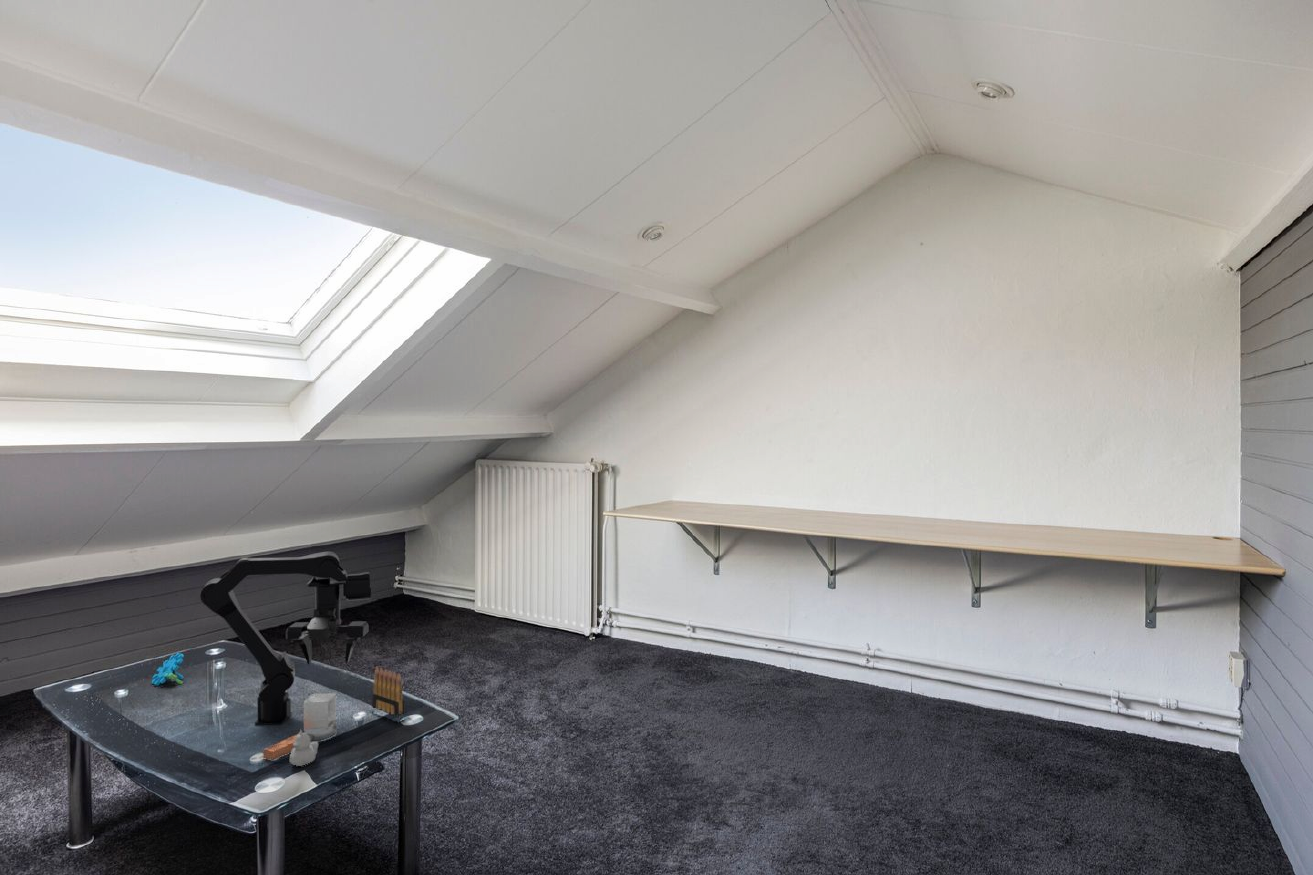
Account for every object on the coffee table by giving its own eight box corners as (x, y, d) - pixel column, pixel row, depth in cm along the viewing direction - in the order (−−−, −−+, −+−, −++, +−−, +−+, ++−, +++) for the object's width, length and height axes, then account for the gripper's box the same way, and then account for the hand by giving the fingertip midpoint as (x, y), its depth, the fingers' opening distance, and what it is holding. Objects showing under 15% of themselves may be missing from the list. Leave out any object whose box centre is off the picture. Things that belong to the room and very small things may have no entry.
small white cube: (303, 728, 179) (303, 702, 179) (312, 719, 185) (311, 693, 185) (328, 728, 180) (328, 701, 180) (335, 718, 185) (335, 693, 185)
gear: (148, 673, 220) (177, 646, 223) (165, 684, 223) (194, 657, 227) (151, 690, 211) (181, 661, 215) (169, 701, 215) (199, 672, 218)
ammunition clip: (371, 713, 197) (371, 666, 196) (378, 710, 198) (377, 664, 198) (398, 722, 191) (397, 674, 190) (404, 720, 192) (404, 672, 192)
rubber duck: (282, 766, 167) (282, 730, 166) (309, 755, 173) (309, 719, 172) (299, 772, 164) (299, 735, 164) (325, 760, 170) (325, 724, 170)
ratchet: (321, 728, 187) (321, 703, 187) (343, 733, 184) (342, 708, 184) (257, 757, 171) (256, 730, 171) (279, 763, 168) (279, 736, 168)
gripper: (276, 611, 187) (277, 675, 188) (356, 609, 189) (356, 673, 189) (294, 600, 198) (294, 660, 199) (369, 598, 200) (369, 658, 201)
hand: (328, 663), depth 197 cm, fingers open, 9 cm apart
